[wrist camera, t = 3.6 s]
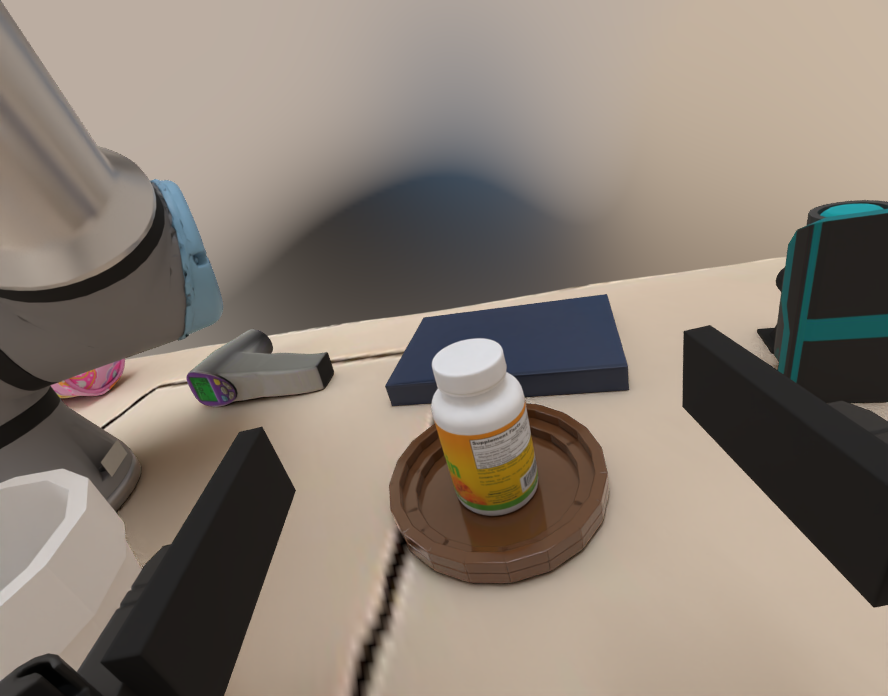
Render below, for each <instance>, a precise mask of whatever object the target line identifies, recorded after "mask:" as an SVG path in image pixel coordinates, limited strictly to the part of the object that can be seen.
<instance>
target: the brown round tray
mask: <svg viewBox="0 0 888 696" xmlns="http://www.w3.org/2000/svg"><path fill="white" fill-rule="evenodd" d="M526 408H527V414H528V420H529V426H530V431H531V437H532V442H533V447H534V453H535V459H536V464H537V470H538V485H537V489H536V492H535V493H534V495H533V497H532V498H531V499H530V500H529V501H528V502H527V503H526V504H525V505H524V506H522V507H521V508H519V509H518V510H516V511H513V512H511V513H508V514H504V515H498V516H487V515H482V514H478V513H475V512H473V511H471V510H469V509H468V508H466V507H465V506H464V505H463V504H462V503H461V501H460V500H459V498H458V497H457V494H456V491H455V488H454V485H453V482H452V478H451V475H450V472H449V468H448V465H447V462H446V458H445V455H444V452H443V448H442V445H441V442H440V438H439V435H438V432H437V428H436V425H435V424H434V425H432V426H431V427H430V428H428V429H427V430H426V431H425V432H423V433H422V434H421V435H420V436H418V437H417V438H416V439H415V440H413V441H412V442H411V444H410V445H409V446H408V448H407V449H406V450H405V452H404V453H403V454H402V456H401V457H400V458H399V459H398V462H397V464H396V467H395V470H394V472H393V475H392V478H391V481H390V485H389V491H390V509H391V512H392V515H393V517H394V519H395V522H396V525H397V527H398V529H399V531H400V533H401V535H402V537H403V539H404V540H405V542H406V544H407V546H408V548H409V550H410V551H411V552H412V553H414V554H415V555H416V556H417V557H418V558H420V559H421V560H422V561H423V562H425V563H426V564H427V565H428V566H430V567H431V568H432V569H433V570H435V571H436V572H439V573H442V574H445V575H448V576H451V577H454V578H457V579H460V580H463V581H466V582H469V583H470V582H471V583H513V582H516V581H520V580H523V579H526V578H530V577H533V576H536V575H540V574H543V573H546V572H550V570H551V571H552V570H553V569H555V568H556V567H558V566H559V565H561V564H562V563H564V562H565V561H567V560H568V559H569V558H571V557H572V556H574V555H575V554H577V553H578V552H580V551H581V550H582V549H583V548H584V547H585V546H586V544H587V543H588V541H589V540H590V539H591V537H592V536H593V534H594V533H595V532H596V530H597V529H598V527H599V526H600V525H601V523H602V522H603V519H604V514H605V509H606V505H607V500H608V496H609V483H608V472H607V468H606V463H605V459H604V455H603V450H602V447H601V446H600V445H599V443H598V442H597V441H596V439H595V438H594V437H593V435H592V434H591V433H590V431H589V430H588V429H587V428H586V427H585V426H583V425H582V424H580V423H579V422H577V421H576V420H574V419H573V418H571V417H570V416H568V415H567V414H564V413H563V412H560V411H557V410H554V409H551V408H548V407H545V406H541V405H537V404H527V403H526Z"/></svg>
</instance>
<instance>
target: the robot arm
mask: <svg viewBox="0 0 888 696" xmlns="http://www.w3.org/2000/svg"><path fill="white" fill-rule="evenodd" d="M222 312H223V302H222V297H221V294H220V290H219V287H218V283H217V280H216V277H215V274H214V272H213V269H212V266H211V264H210V261H209V259H208V258H207V256H206V251H205V249H204V246H203V242H202V239H201V236H200V234H199V231H198V229H197V226H196V224H195V221H194V219H193V216H192V214H191V212H190V209H189V207H188V205H187V202H186V200H185V198H184V196H183V194H182V192H181V190H180V188H179V187H178V186H177V185H176V184H175V183H174V182H172V181H168V180H164V181H159V180H156V179H154V180H152V181H150V180H149V179H148V177H147V176H146V175H145V174H144V172H143V171H142V170H141V169H140V168H139V167H138V166H137V165H136V164H135V163H134V162H132V161H131V160H130V159H128V158H127V157H125V156H123V155H121V154H119V153H117V152H114V151H112V150H109V149H106V148H102V147H99V146H97V145H96V143H95V142H94V140H93V139H92V137H91V135H90V134H89V133H88V131H87V129H86V128H85V127H84V125H83V123H82V122H81V121H80V119H79V117H78V116H77V114H76V113H75V111H74V110H73V108H72V107H71V105H70V104H69V103H68V101H67V99H66V98H65V97H64V95H63V93H62V92H61V90H60V89H59V87H58V86H57V84H56V83H55V81H54V80H53V78H52V77H51V75H50V74H49V72H48V71H47V69H46V68H45V66H44V65H43V63H42V62H41V61H40V59H39V57H38V56H37V54H36V53H35V51H34V50H33V48H32V47H31V45H30V44H29V42H28V41H27V39H26V38H25V36H24V35H23V33H22V32H21V30H20V29H19V27H18V26H17V24H16V23H15V21H14V20H13V18H12V17H11V15H10V14H9V12H8V11H7V9H6V8H5V6H4V5H3V3H2V2H1V0H0V483H2V482H4V481H7V480H9V479H12V478H14V477H18V476H24V475H30V474H35V473H41V472H46V471H52V470H57V469H65V470H68V471H71V472H73V473H76V474H79V475H81V476H84V477H87V478H89V480H90V481H91V482H92V483H93V484H94V486H95V487H96V488H97V489H98V491H99V492H100V493H101V494H102V496H103V497H104V498H105V499H106V501H107V502H108V503H109V504H110V506H111V507H112V508H113V509H114V511H115V512H116V511H117V510H118V509H119V507H120V506H121V505H122V504H123V503H124V502H125V500H126V499H127V498H128V496H129V495H130V494H131V492H132V491H133V489H134V488H135V486H136V484H137V482H138V480H139V477H140V474H141V464H140V462H139V460H138V459H137V458H136V456H135V455H134V453H133V452H132V451H131V449H130V448H128V447H127V446H126V445H125V444H124V443H123V442H122V441H120V440H119V439H117V438H116V437H114V436H112V435H111V434H109V433H108V432H106V431H105V430H103V429H101V428H100V427H98V426H97V425H95V424H94V423H92V422H91V421H89V420H87V419H86V418H84V417H83V416H81V415H80V414H78V413H76V412H75V411H73V410H72V409H70V408H69V407H68V406H66V405H65V404H64V402H63V401H62V400H61V399H60V397H59V396H58V395H57V393H56V392H55V391H54V390H53V388H52V387H51V386H50V385H53V384H56V383H59V382H61V381H63V380H66V379H69V378H72V377H74V376H77V375H80V374H82V373H85V372H88V371H91V370H93V369H96V368H99V367H102V366H105V365H108V364H110V363H113V362H116V361H119V360H122V359H125V358H127V357H130V356H133V355H136V354H139V353H142V352H144V351H147V350H150V349H153V348H156V347H159V346H161V345H164V344H167V343H170V342H173V341H176V340H182V339H185V338H186V337H187V336H189V334H191V333H193V332H196V331H198V330H200V329H203V328H205V327H207V326H210V325H212V324H214V323H215V322H216V321H217V320H218V319H219V318H220V316H221V315H222ZM682 407H683V408H684V409H685V410H686V411H687V412H688V413H689V414H690V415H691V416H692V417H693V418H694V419H695V420H696V421H697V422H698V423H699V424H700V426H701V427H702V428H703V429H704V430H705V431H706V432H707V433H708V434H709V435H710V436H711V437H712V438H713V439H714V440H715V441H716V442H717V443H718V444H719V446H720V447H721V448H722V449H723V450H724V451H725V452H726V453H727V454H728V455H729V456H730V457H731V458H732V459H733V460H734V461H735V462H736V463H737V464H738V465H739V467H740V468H741V469H742V470H743V471H744V472H745V473H746V474H747V475H748V476H749V477H750V478H751V479H752V480H753V481H754V482H755V483H756V484H757V485H758V486H759V488H760V489H761V490H762V491H763V492H764V493H765V494H766V495H767V496H768V497H769V498H770V499H771V500H772V501H773V502H774V503H775V504H776V505H777V506H778V508H779V509H780V510H781V511H782V512H783V513H784V514H785V515H786V516H787V517H788V518H789V519H790V520H791V521H792V522H793V523H794V524H795V525H796V526H797V527H798V529H799V530H800V531H801V532H802V533H803V534H804V535H805V536H806V537H807V538H808V539H809V540H810V541H811V542H812V543H813V544H814V545H815V546H816V547H817V548H818V550H819V551H820V552H821V553H822V554H823V555H824V556H825V557H826V558H827V559H828V560H829V561H830V562H831V563H832V564H833V565H834V566H835V567H836V568H837V570H838V571H839V572H840V573H841V574H842V575H843V576H844V577H845V578H846V579H847V580H848V581H849V582H850V583H851V584H852V585H853V586H854V587H855V588H856V589H857V591H858V592H859V593H860V594H861V595H862V596H863V597H864V598H865V599H866V600H867V601H868V602H869V603H870V604H871V605H872V606H873V607H879V606H885V605H888V421H886V420H885V419H883V418H881V417H880V416H878V415H877V414H875V413H873V412H872V411H869V410H866V409H864V408H861V407H858V406H855V405H853V404H850V403H847V402H845V401H842V400H841V401H837V402H832V403H825V402H824V401H822V400H821V399H819V398H818V397H817V396H815V395H814V394H812V393H811V392H809V391H808V390H806V389H805V388H803V387H802V386H800V385H799V384H797V383H796V382H794V381H793V380H791V379H790V378H788V377H787V376H785V375H784V374H782V373H781V372H779V371H778V370H776V369H775V368H773V367H772V366H770V365H769V364H767V363H766V362H764V361H763V360H761V359H760V358H758V357H757V356H755V355H754V354H752V353H751V352H749V351H748V350H746V349H745V348H743V347H742V346H740V345H739V344H737V343H736V342H734V341H733V340H731V339H730V338H728V337H727V336H725V335H724V334H722V333H721V332H719V331H718V330H716V329H715V328H713V327H712V326H710V325H709V326H704V327H700V328H695V329H691V330H687V331H684V345H683V406H682ZM295 491H296V490H295V488H294V486H293V484H292V482H291V480H290V478H289V477H288V475H287V473H286V471H285V469H284V467H283V465H282V463H281V461H280V459H279V458H278V456H277V454H276V452H275V450H274V448H273V446H272V444H271V442H270V440H269V439H268V437H267V435H266V433H265V431H264V429H263V427H259V428H255V429H251V430H246V431H242V432H239V433H238V435H237V437H236V438H235V440H234V442H233V443H232V445H231V447H230V448H229V450H228V451H227V453H226V455H225V456H224V458H223V460H222V461H221V463H220V465H219V466H218V468H217V470H216V471H215V473H214V475H213V476H212V478H211V480H210V481H209V483H208V485H207V486H206V488H205V489H204V491H203V493H202V494H201V496H200V498H199V499H198V501H197V503H196V504H195V506H194V508H193V509H192V511H191V513H190V514H189V516H188V518H187V519H186V521H185V523H184V524H183V526H182V527H181V529H180V531H179V532H178V534H177V536H176V537H175V539H174V541H173V542H172V544H171V545H166V546H163V547H162V548H161V549H160V550H159V551H158V552H157V553H156V554H155V555H154V556H153V557H152V558H151V559H150V560H149V561H148V562H147V563H146V565H145V566H144V567H143V569H142V570H141V572H140V573H139V575H138V576H137V578H136V580H135V581H134V583H133V584H132V586H131V590H130V591H128V592H127V594H126V595H125V597H124V598H123V600H122V602H121V603H120V608H118V609H116V611H115V613H114V614H113V616H112V617H111V619H110V620H109V622H108V624H107V625H106V627H105V628H104V630H103V631H102V633H101V634H100V636H99V638H98V639H97V641H96V642H95V644H94V645H93V647H92V649H91V650H90V652H89V653H88V655H87V656H86V658H85V660H84V661H83V663H82V664H81V666H80V667H79V669H78V671H77V672H76V671H75V670H74V669H73V668H72V667H71V666H70V665H68V664H67V663H66V662H65V661H64V660H63V659H62V658H61V657H60V656H58V655H55V654H50V653H48V654H44V655H41V656H38V657H34V658H33V659H31V660H29V661H27V662H26V663H24V664H22V665H21V666H19V667H17V668H16V669H15V670H13V671H12V672H11V673H10V674H8V675H7V676H6V677H5V678H3V679H2V680H1V681H0V696H224V694H225V692H226V689H227V686H228V683H229V680H230V677H231V674H232V672H233V669H234V666H235V663H236V660H237V657H238V654H239V652H240V649H241V646H242V643H243V640H244V637H245V634H246V631H247V629H248V626H249V623H250V620H251V617H252V614H253V611H254V609H255V606H256V603H257V600H258V597H259V594H260V591H261V589H262V586H263V583H264V580H265V577H266V574H267V571H268V568H269V566H270V563H271V560H272V557H273V554H274V551H275V548H276V546H277V543H278V540H279V537H280V534H281V531H282V528H283V526H284V523H285V520H286V517H287V514H288V511H289V508H290V505H291V503H292V500H293V497H294V494H295Z"/></svg>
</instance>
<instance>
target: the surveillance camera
mask: <svg viewBox="0 0 888 696" xmlns="http://www.w3.org/2000/svg"><path fill="white" fill-rule="evenodd" d="M776 286H777V287H778V289H779V290H780V291H781V299H780V306H779V314H778V322H777V325H776V327H775V328H765V329H757V332H758V334H759V335H760V337H761V338H762V340H763V341H764V342H765V344H766V345H767V347H768V348H769V350H770V351H771V353H774V355H775V357H776V358H777V360H778V361H779V366H778V371H779V372H781V373H782V374H784V375H785V376H787V377H788V378H790V379H791V380H793V381H794V382H796V383H797V384H799V385H800V386H802V387H803V388H805V389H806V390H808V391H809V392H811V393H812V394H814V395H815V396H817V397H818V398H819V399H821V400H822V401H824V402H825V403H832V402H837V401H841V400H842V401H845V402H847V403H857V402H886V401H888V202H885V201H869V200H867V201H866V200H862V201H845V202H837V203H831V204H826V205H822V206H819V207H816V208H814V209H812V210H810V212H809V213H808V220H807V226H805V227H803V228H800V229H798V230H797V231H796V232H795V234H794V236H793V237H792V239H791V241H790V243H789V244H788V250H787V258H786V266H785V268H783V269H782V270H781V271H780V272H779V274H778V275H777V278H776Z"/></svg>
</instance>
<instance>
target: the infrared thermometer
mask: <svg viewBox="0 0 888 696" xmlns="http://www.w3.org/2000/svg"><path fill="white" fill-rule="evenodd" d="M272 351H273V346H272V342H271V340H270V339H269V338H268V336H267V335H265V334H264V333H263V332H261V331H259V330H253V329H252V330H248V331H247V332H245V333H244V334H242V335H240V336H239V337H237V338H235V339H234V340H232V341H231V342H229V343H227V344H226V345H224V346H222V347H221V348H219V349H217V350H216V351H214V352H213V353H211V354H210V355H209V356H208V357H207V358H206V359H204V360H203V361H202V362H201V363H200V364H198V365H197V366H196V367H195V368H194V369H192V370H191V371H190V372H189V373H188V375H187V382H188V385H189V387H190V389H191V391H192V393H193V394H194V396H195V397H196V399H197V400H198V401H199V402H201V403H202V404H204V405H208V406H214V407H218V406H224V405H227V404H229V403H231V402H234V401H240V400H248V399H254V398H259V397H271V396H282V395H294V394H301V393H308V392H313V391H317V390H321V389H324V388H325V387H326V386H327V384H328V383H329V381H330V379H331V378H332V376H333V374H334V370H333V367H332V364H331V361H330V358H329V355H328V353H327V352H325V353H319V354H295V353H275V354H271V353H272Z"/></svg>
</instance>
